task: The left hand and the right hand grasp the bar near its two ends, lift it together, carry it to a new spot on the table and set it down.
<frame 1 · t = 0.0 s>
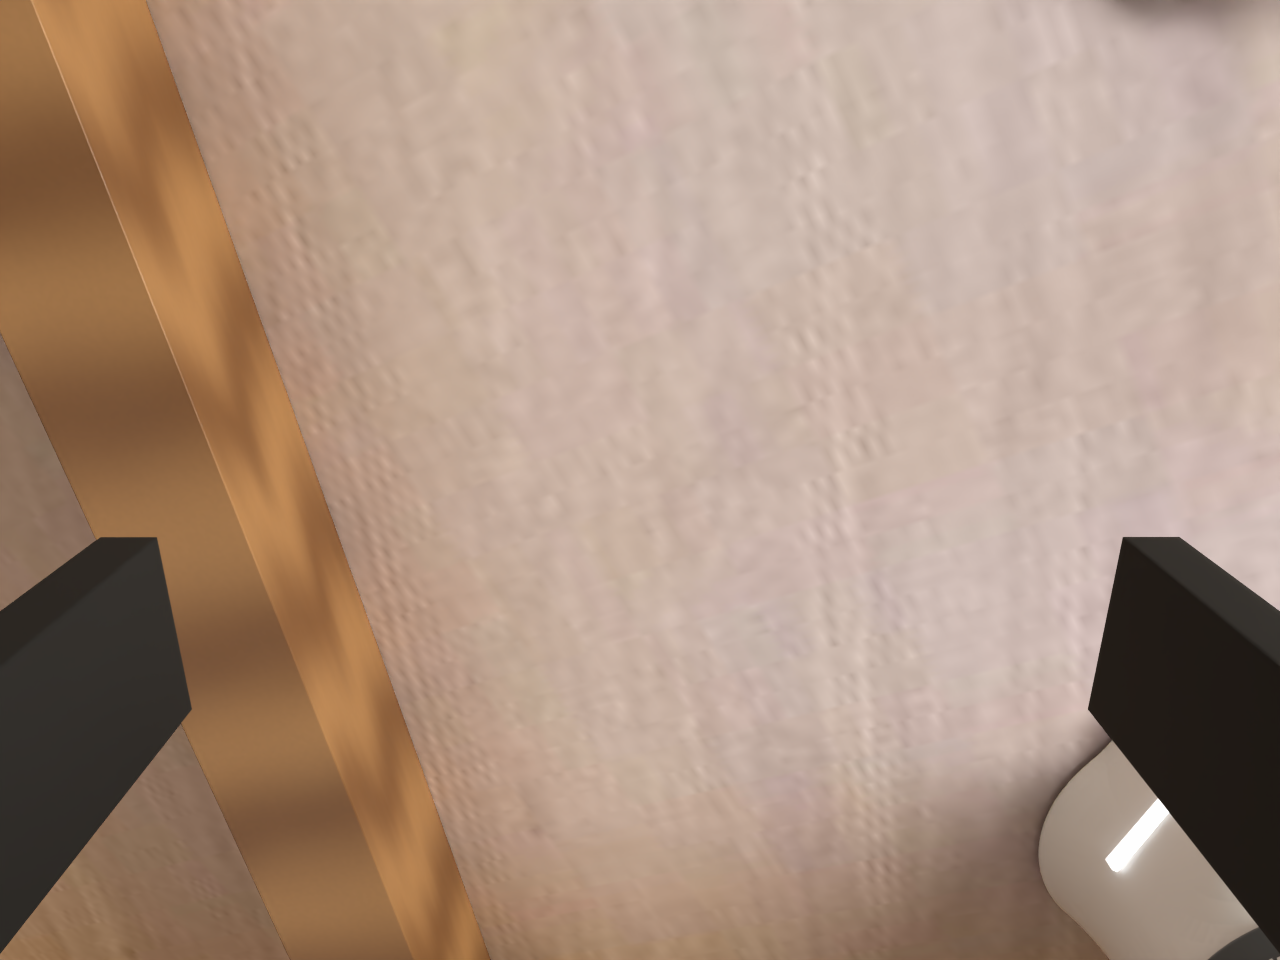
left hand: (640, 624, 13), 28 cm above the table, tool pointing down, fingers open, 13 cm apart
bar: (287, 562, 43), on the table
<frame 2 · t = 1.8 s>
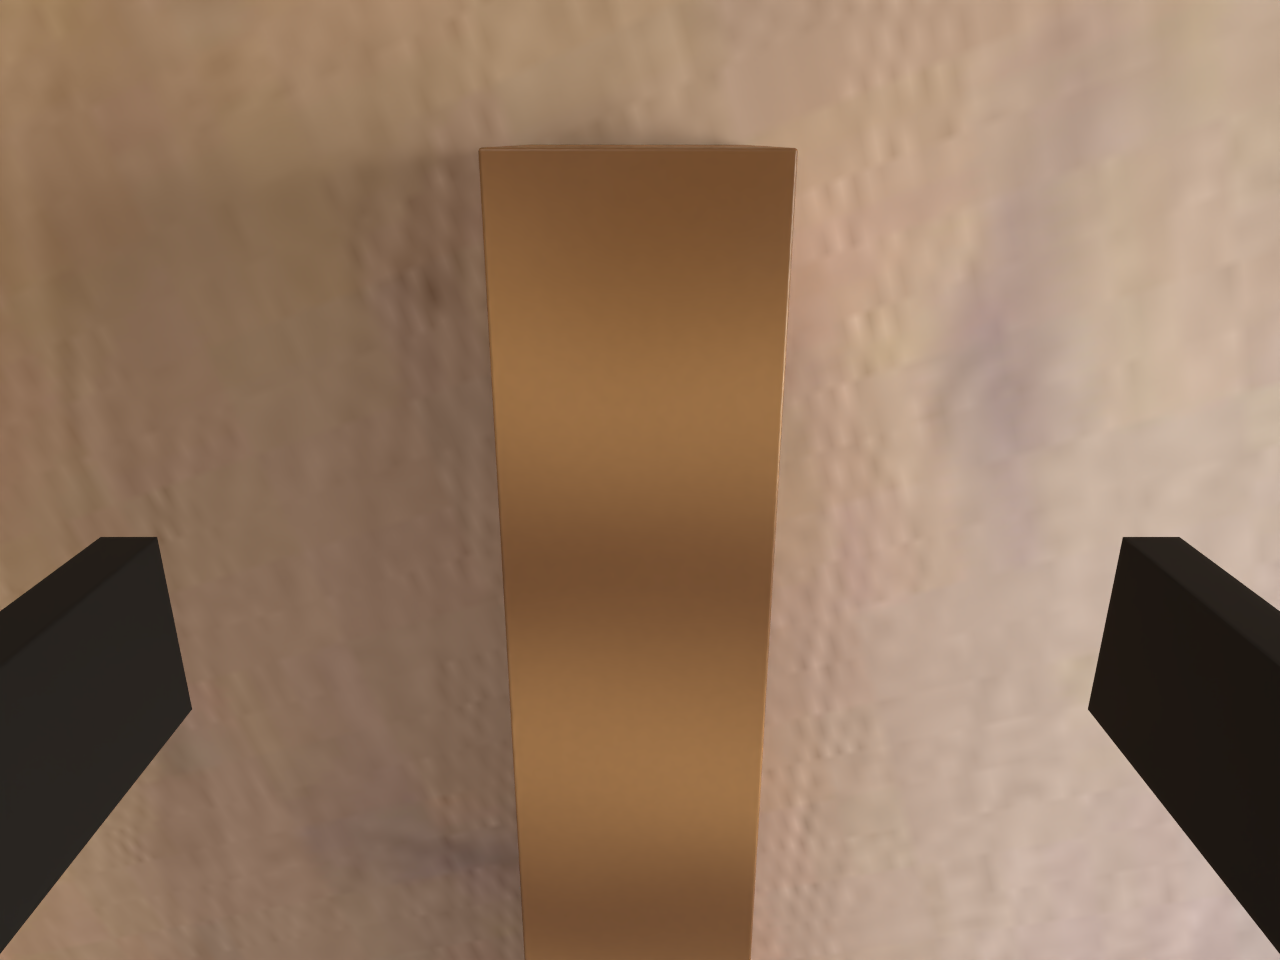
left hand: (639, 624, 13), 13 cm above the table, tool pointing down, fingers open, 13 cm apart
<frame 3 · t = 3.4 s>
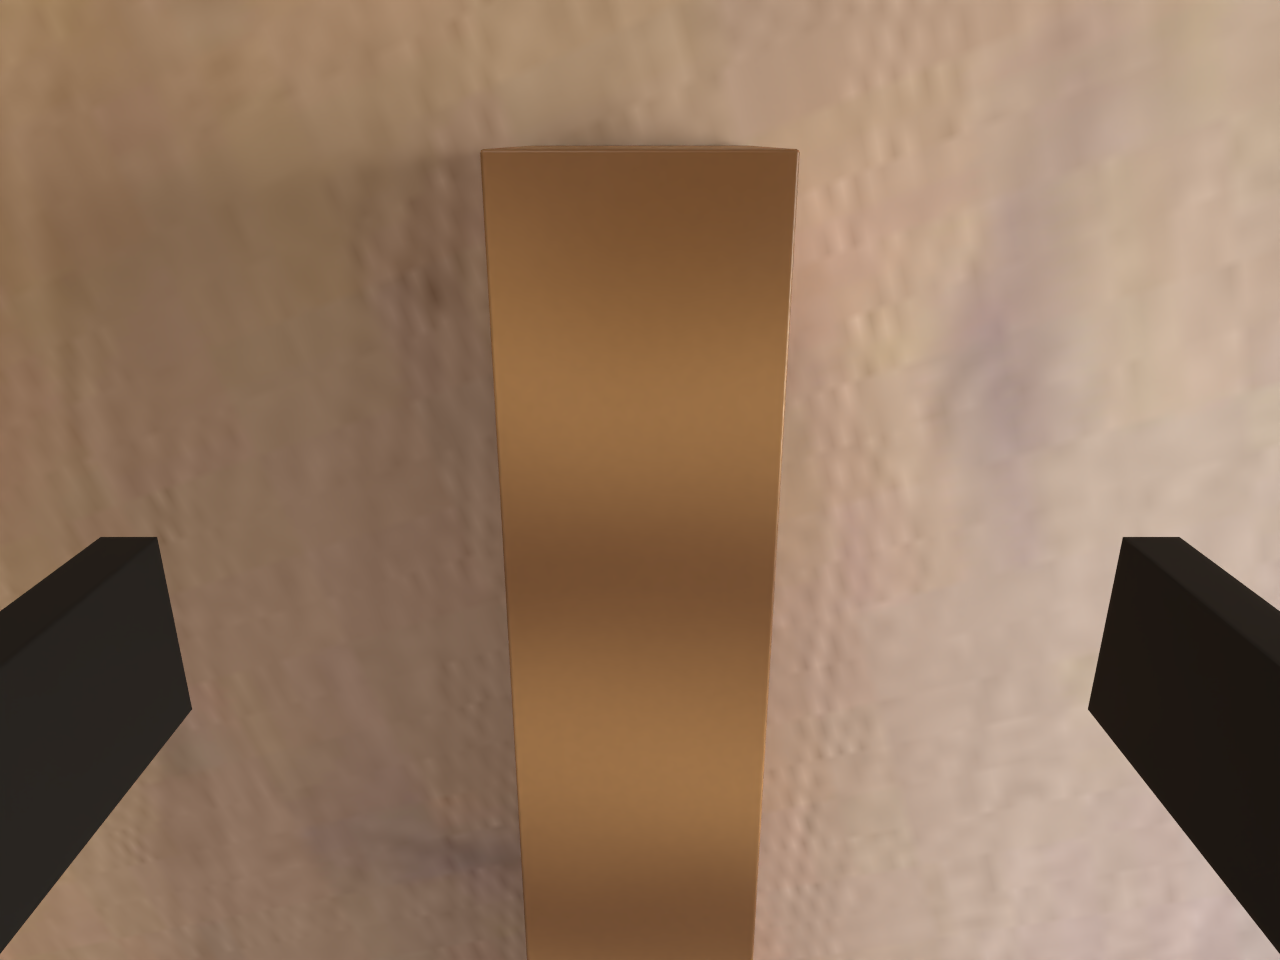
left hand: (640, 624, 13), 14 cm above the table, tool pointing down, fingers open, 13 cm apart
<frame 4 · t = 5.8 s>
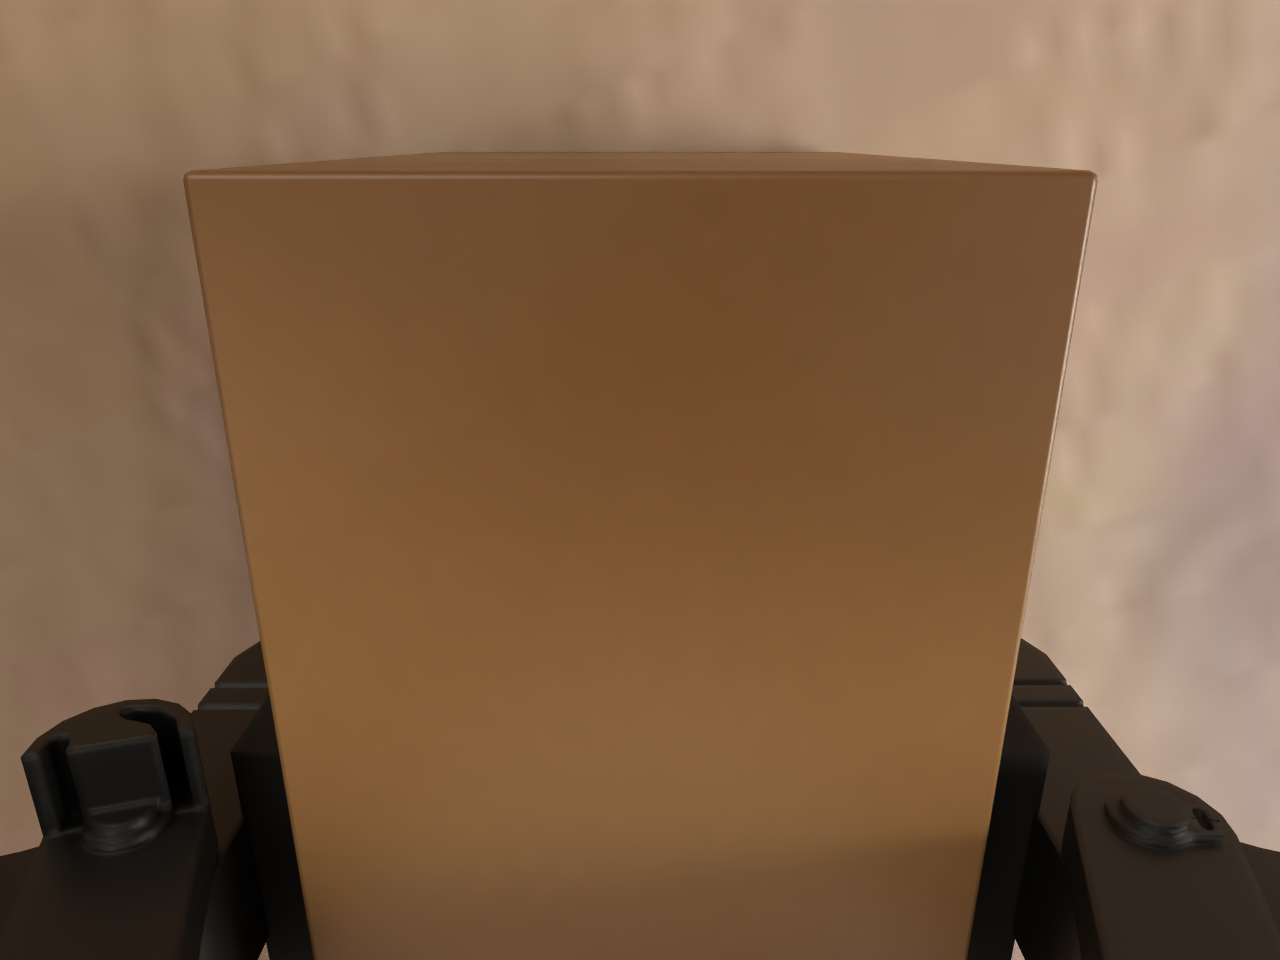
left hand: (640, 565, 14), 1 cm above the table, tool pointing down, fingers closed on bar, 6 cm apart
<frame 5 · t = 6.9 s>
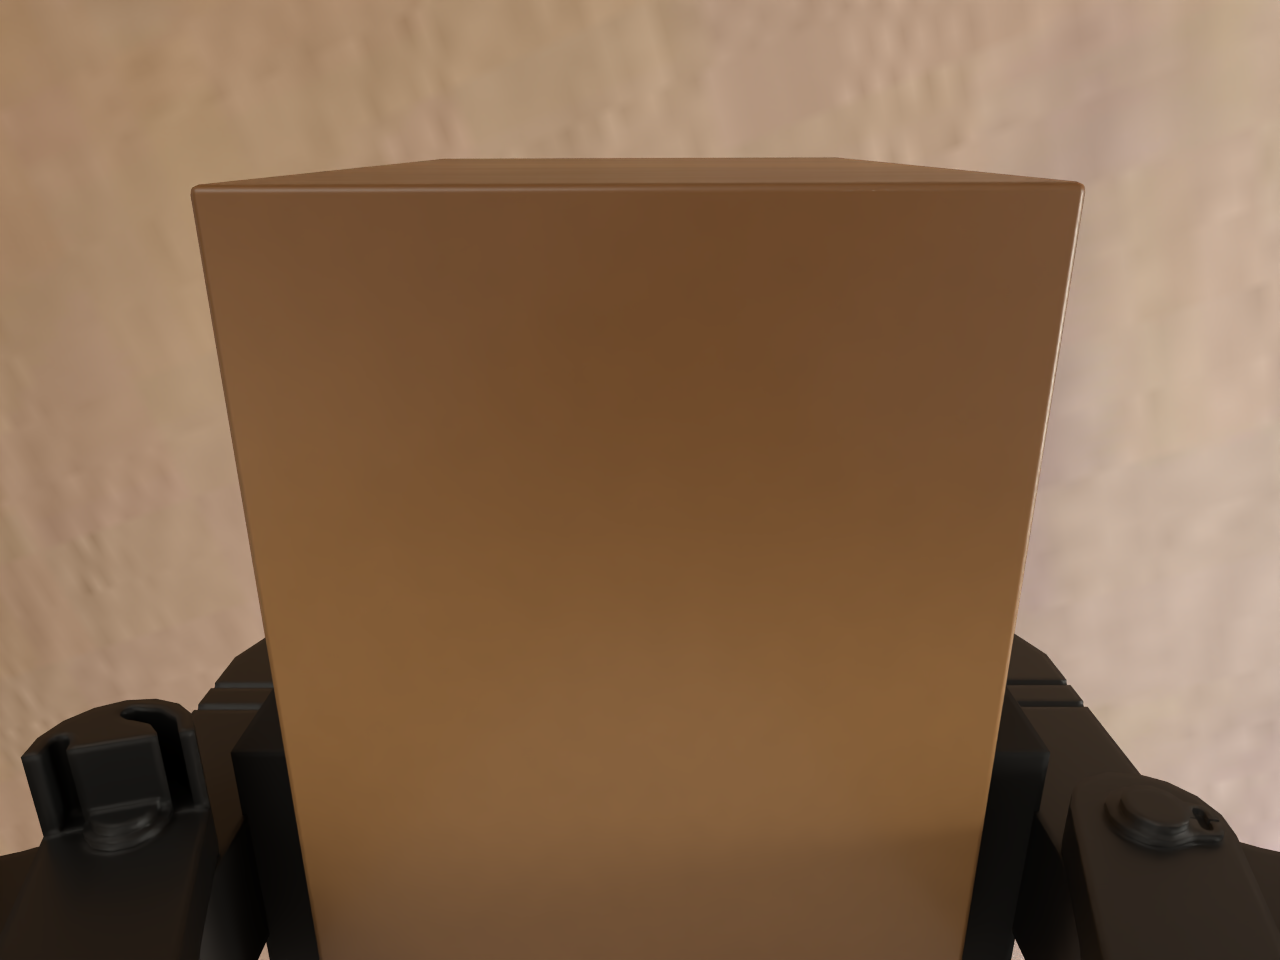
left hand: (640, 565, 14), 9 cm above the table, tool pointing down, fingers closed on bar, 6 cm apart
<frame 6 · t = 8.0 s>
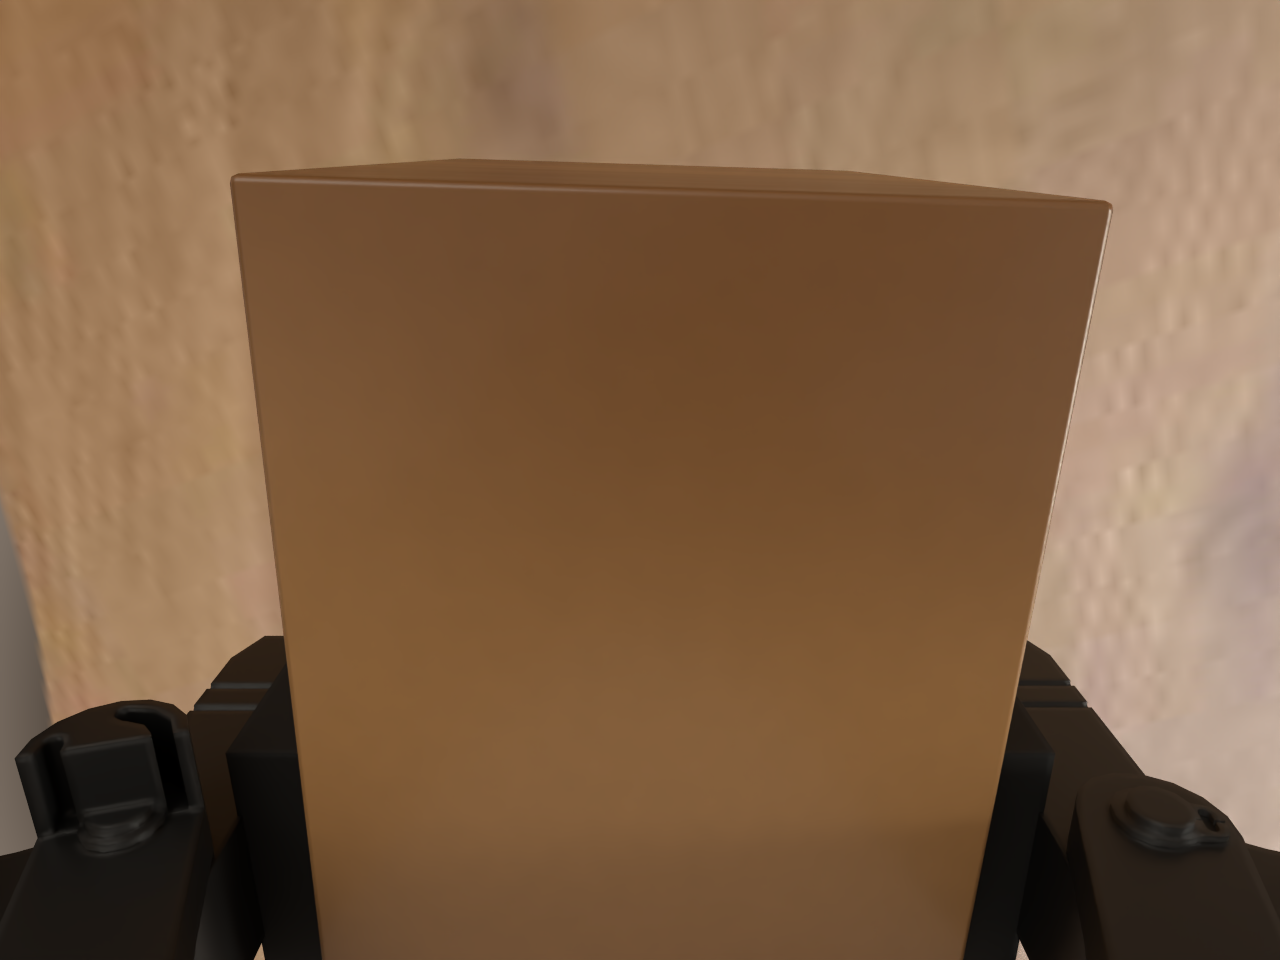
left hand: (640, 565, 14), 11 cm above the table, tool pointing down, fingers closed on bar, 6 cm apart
when the left hand's fingers open (1 cm above the table, at t = 10.2 s): bar stays where it is, on the table.
when the right hand's fingers open (3 cm above the table, at t = 10.4 s): bar stays where it is, on the table.
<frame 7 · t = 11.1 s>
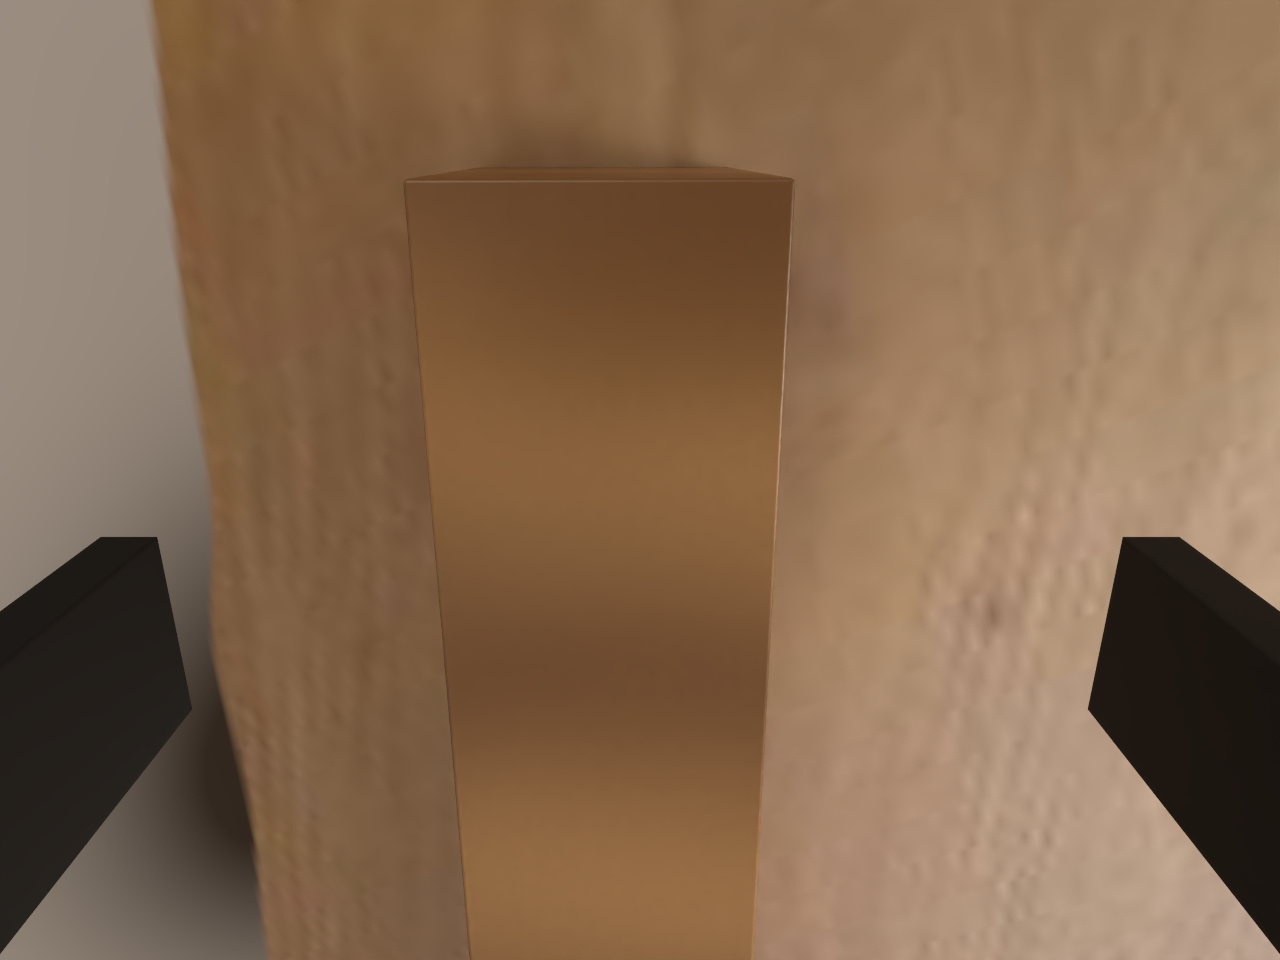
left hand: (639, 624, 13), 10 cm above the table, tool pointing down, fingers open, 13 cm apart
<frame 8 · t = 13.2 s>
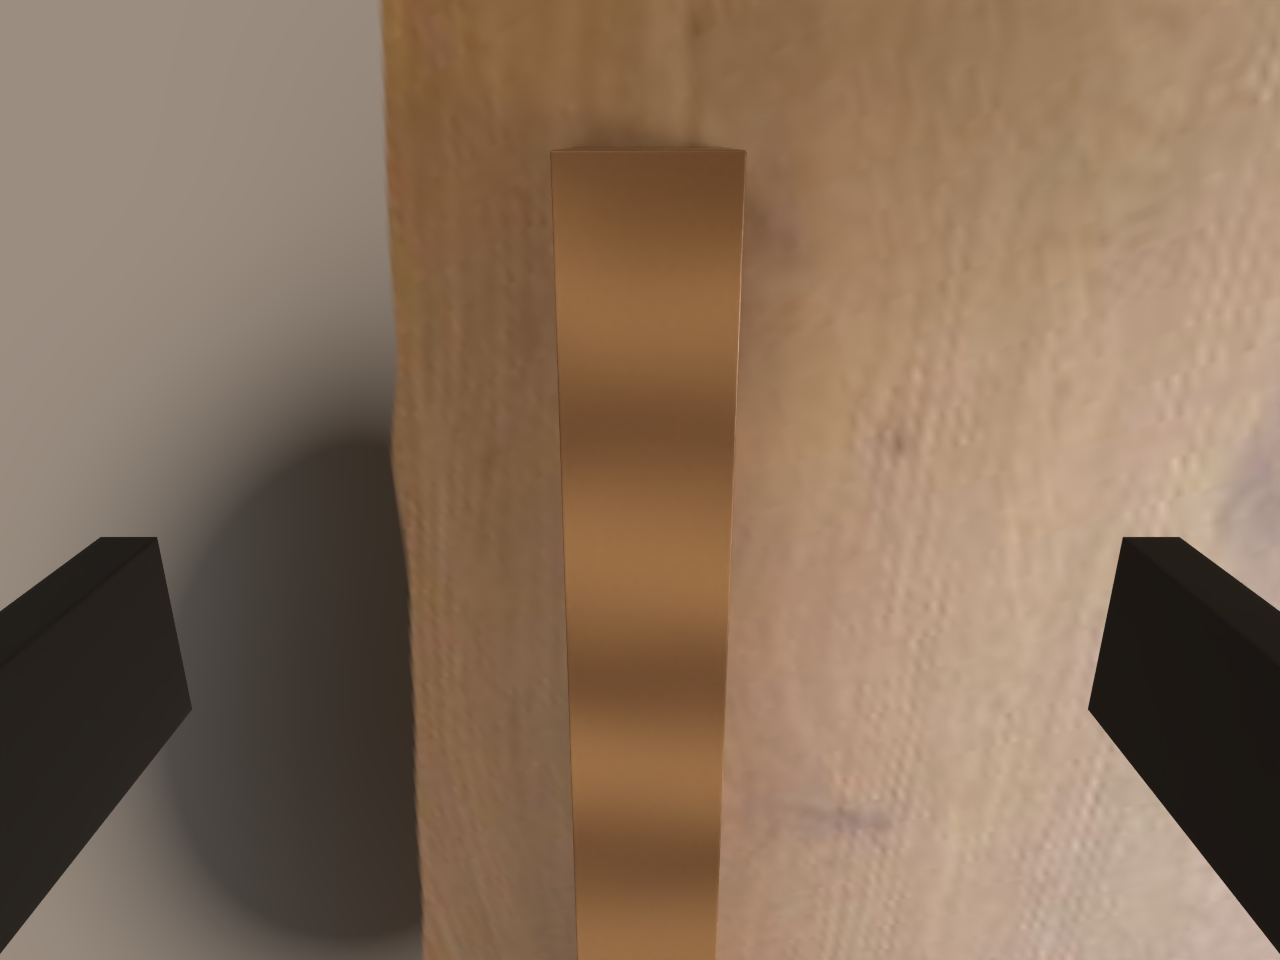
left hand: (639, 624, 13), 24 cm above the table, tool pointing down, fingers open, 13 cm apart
bar: (645, 901, 46), on the table
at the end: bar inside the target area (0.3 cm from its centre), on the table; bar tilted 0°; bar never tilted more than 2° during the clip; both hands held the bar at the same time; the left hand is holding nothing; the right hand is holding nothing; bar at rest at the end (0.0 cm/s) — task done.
